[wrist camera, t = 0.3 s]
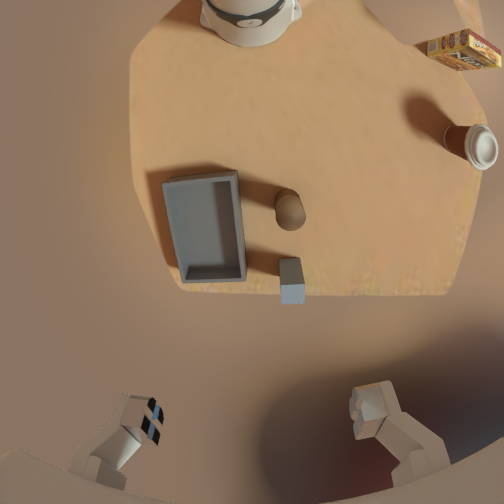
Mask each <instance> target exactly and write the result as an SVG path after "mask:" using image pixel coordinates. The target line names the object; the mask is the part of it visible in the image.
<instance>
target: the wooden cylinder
mask: <svg viewBox="0 0 504 504" xmlns="http://www.w3.org/2000/svg"><path fill="white" fill-rule="evenodd" d="M275 212H276V221H277V223H278V225H279V226H280V227H281V228H282V229H284V230H287V231H294V230H297V229H299V228H300V227H301V226H302V225H303V224H304V222H305V219H306V214H305V211H304V208H303V205H302V203H301V200H300V197H299V195H298V194H297V192H295V191H294V190H291V189H284V190H281V191H280V192H279V193H278V194H277V195H276V197H275Z"/></svg>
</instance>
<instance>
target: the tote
mask: <svg viewBox="0 0 504 504" xmlns="http://www.w3.org/2000/svg"><path fill="white" fill-rule="evenodd" d="M162 189H163V195H164V200H165V206H166V211H167V216H168V221H169V226H170V231H171V236H172V240H173V245H174V249H175V254H176V258H177V263H178V267H179V271H180V275H181V279H182V283H213V282H242V281H246V277H247V269H248V268H247V259H246V250H245V240H244V231H243V221H242V211H241V202H240V192H239V182H238V172H237V170H236V171H225V172H215V173H205V174H196V175H188V176H180V177H172V178H169V179H168V180H166V181H165V182H163V183H162Z"/></svg>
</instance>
